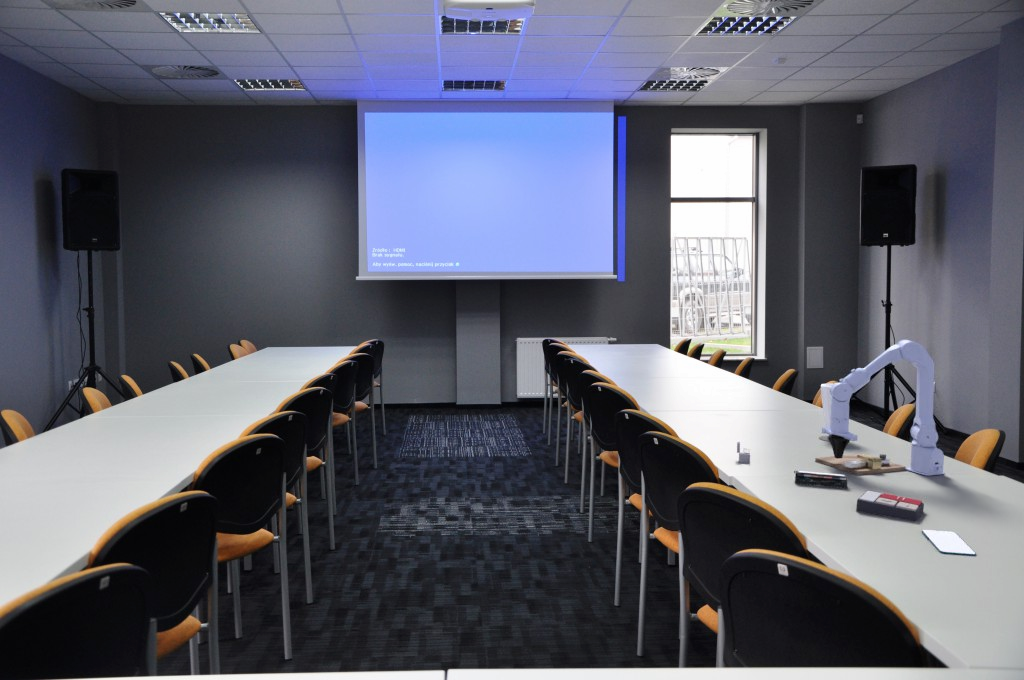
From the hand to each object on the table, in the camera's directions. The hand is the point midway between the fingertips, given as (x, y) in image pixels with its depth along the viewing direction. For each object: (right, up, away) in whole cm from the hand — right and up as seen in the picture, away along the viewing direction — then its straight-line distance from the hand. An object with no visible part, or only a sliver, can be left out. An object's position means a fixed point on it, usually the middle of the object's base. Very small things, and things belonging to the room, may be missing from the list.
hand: (838, 457), depth 266 cm
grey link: (+8, -2, -4) cm, 9 cm away
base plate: (+8, -3, +2) cm, 9 cm away
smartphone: (-5, -10, -76) cm, 77 cm away
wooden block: (+8, -2, -5) cm, 10 cm away
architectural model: (-26, -3, +11) cm, 29 cm away
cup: (+17, 0, +45) cm, 48 cm away
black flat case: (-14, -6, -25) cm, 29 cm away
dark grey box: (-7, -8, -50) cm, 51 cm away
